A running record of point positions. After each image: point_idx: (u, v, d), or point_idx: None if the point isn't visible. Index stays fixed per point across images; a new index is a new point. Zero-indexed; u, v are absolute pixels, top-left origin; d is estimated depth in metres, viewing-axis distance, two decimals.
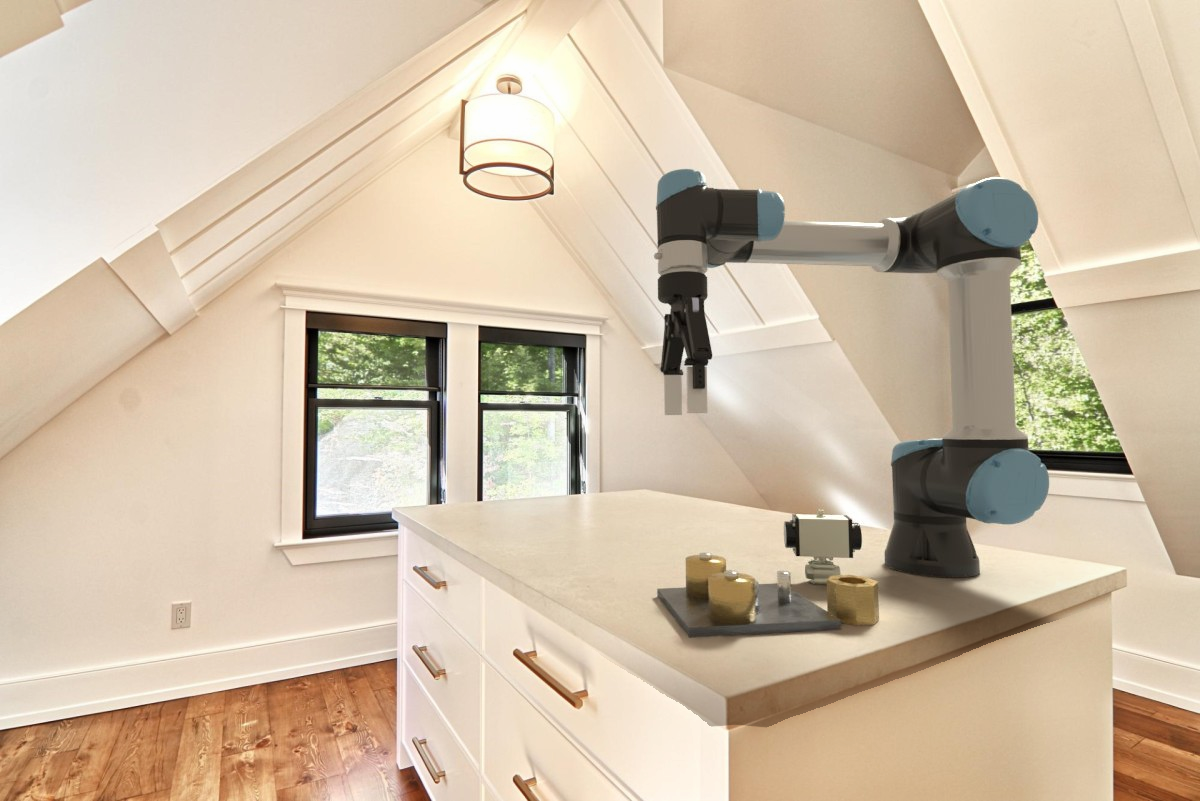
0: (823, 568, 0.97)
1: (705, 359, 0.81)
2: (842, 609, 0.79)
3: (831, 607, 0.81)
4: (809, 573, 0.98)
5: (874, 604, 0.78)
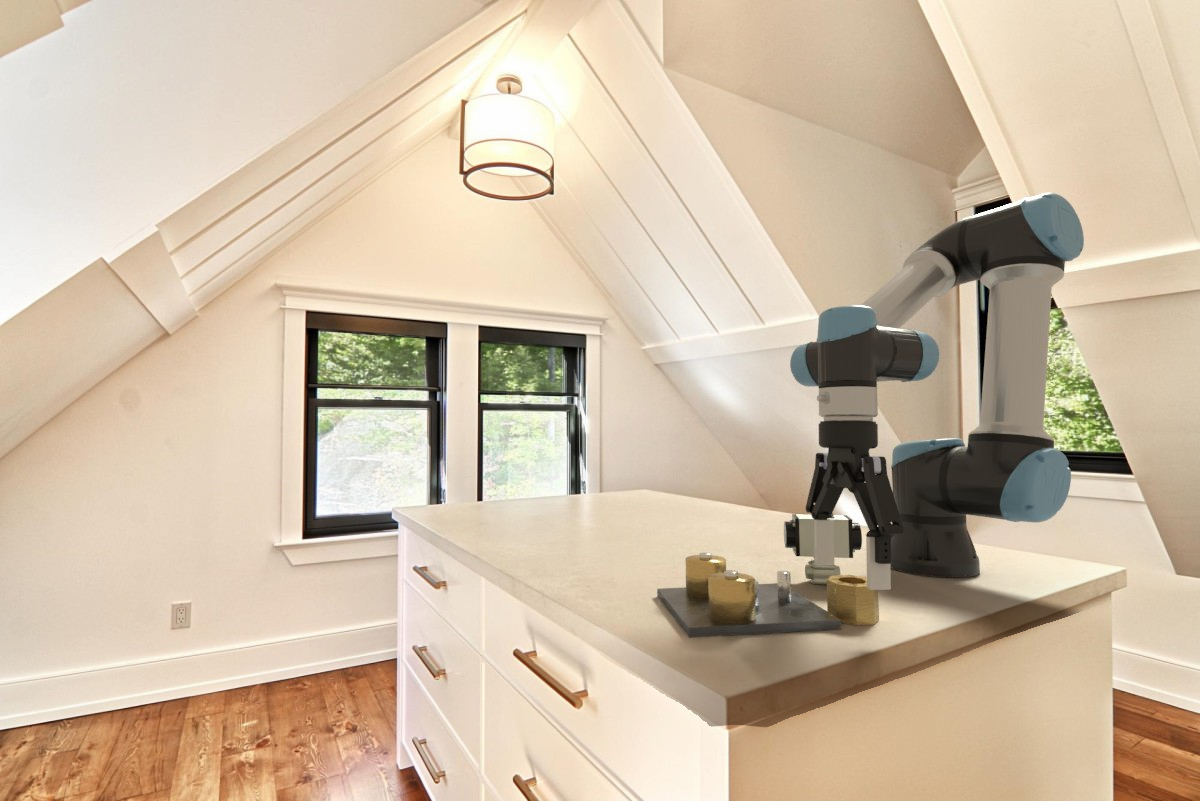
0: (823, 568, 0.97)
1: (895, 534, 0.72)
2: (842, 609, 0.79)
3: (831, 607, 0.81)
4: (809, 573, 0.98)
5: (874, 604, 0.78)
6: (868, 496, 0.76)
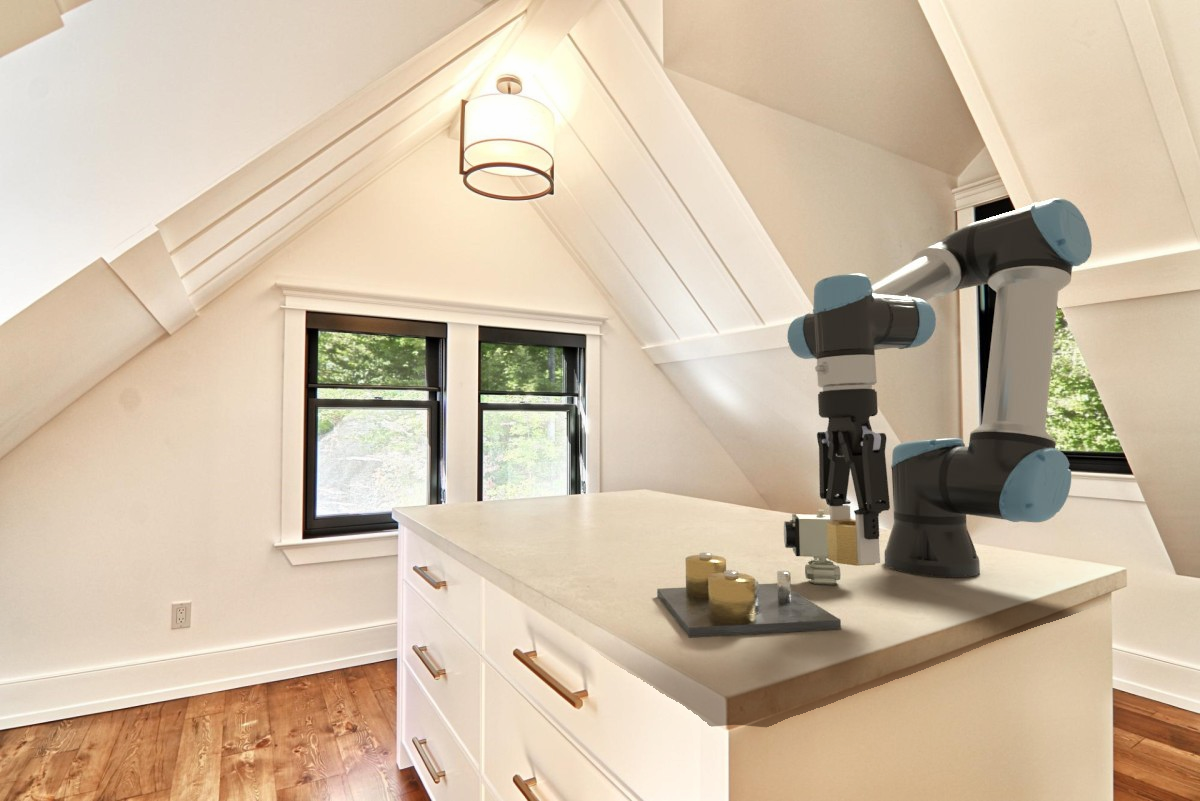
0: (823, 568, 0.97)
1: (881, 510, 0.76)
2: (842, 550, 0.79)
3: (831, 550, 0.81)
4: (809, 573, 0.98)
5: None
6: (863, 471, 0.78)
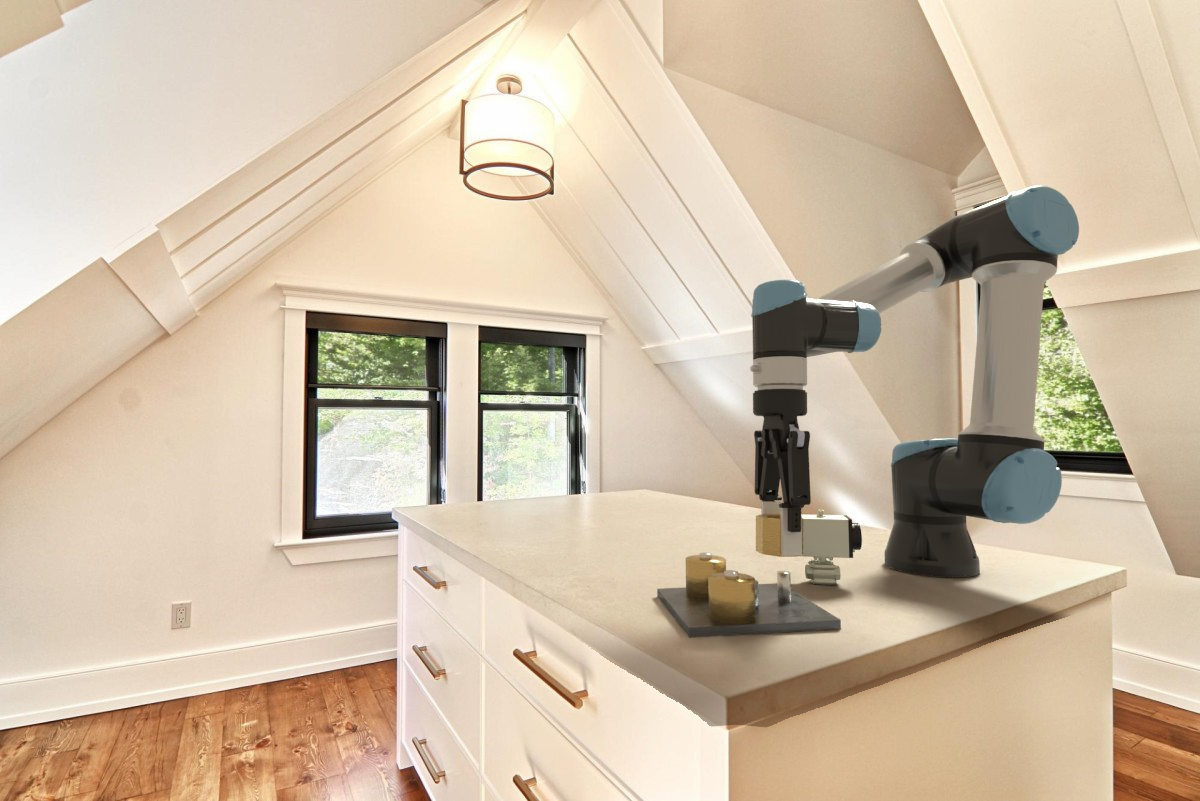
0: (823, 568, 0.97)
1: (803, 504, 0.79)
2: (767, 542, 0.83)
3: (758, 541, 0.85)
4: (809, 573, 0.98)
5: None
6: None
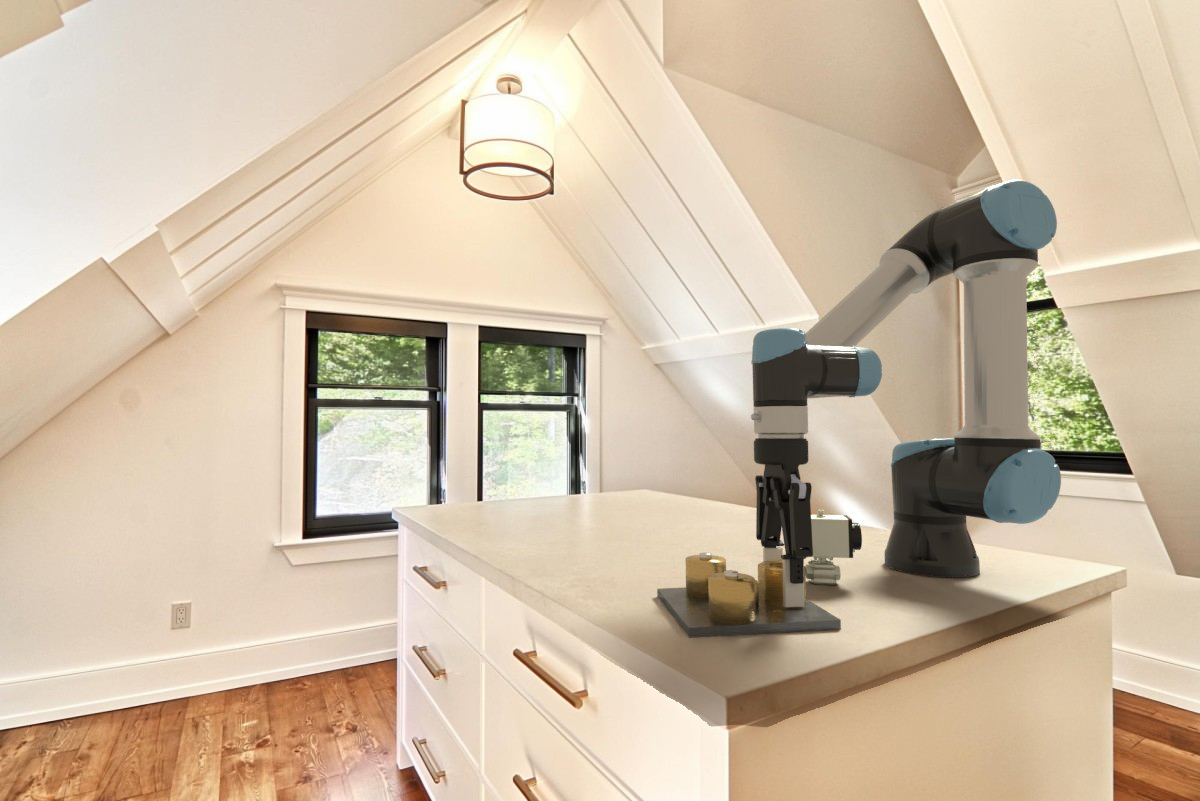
0: (823, 568, 0.97)
1: (805, 557, 0.79)
2: (770, 592, 0.83)
3: (761, 591, 0.85)
4: (809, 573, 0.98)
5: None
6: None
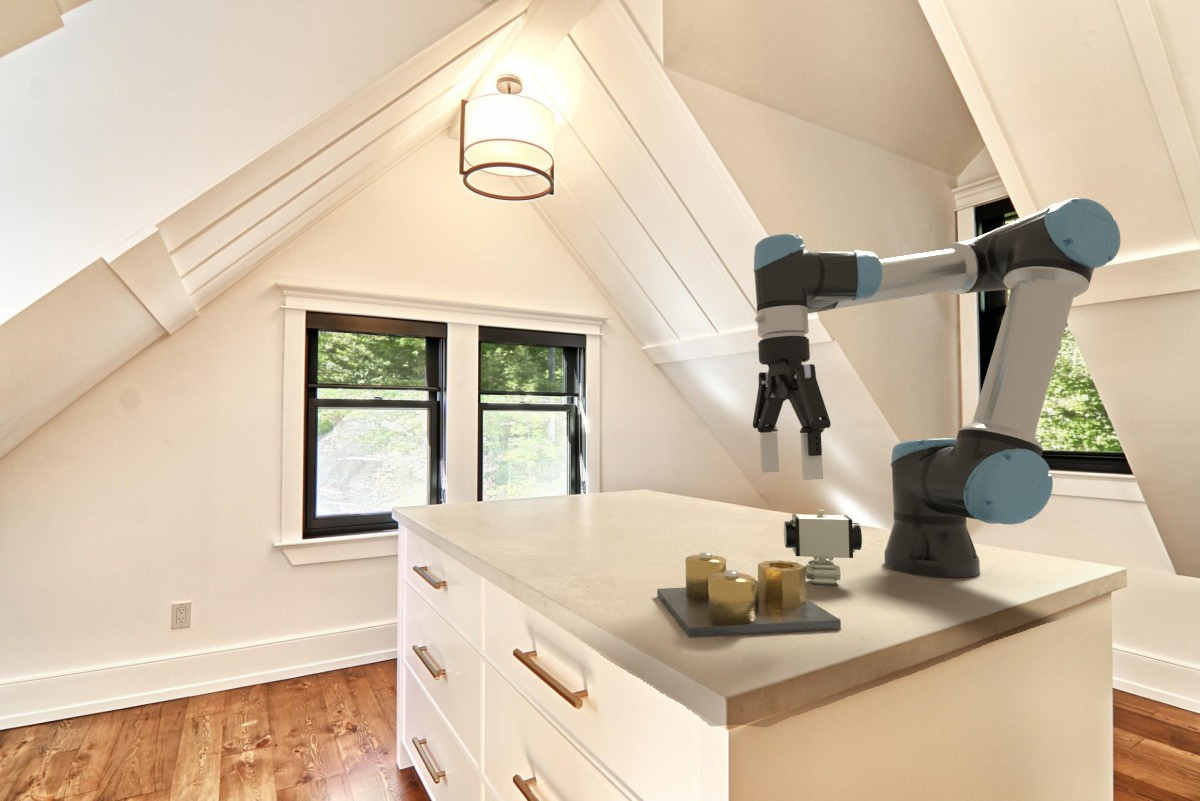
0: (823, 568, 0.97)
1: (823, 428, 0.82)
2: (770, 592, 0.83)
3: (761, 591, 0.85)
4: (809, 573, 0.98)
5: (800, 587, 0.82)
6: (801, 400, 0.87)
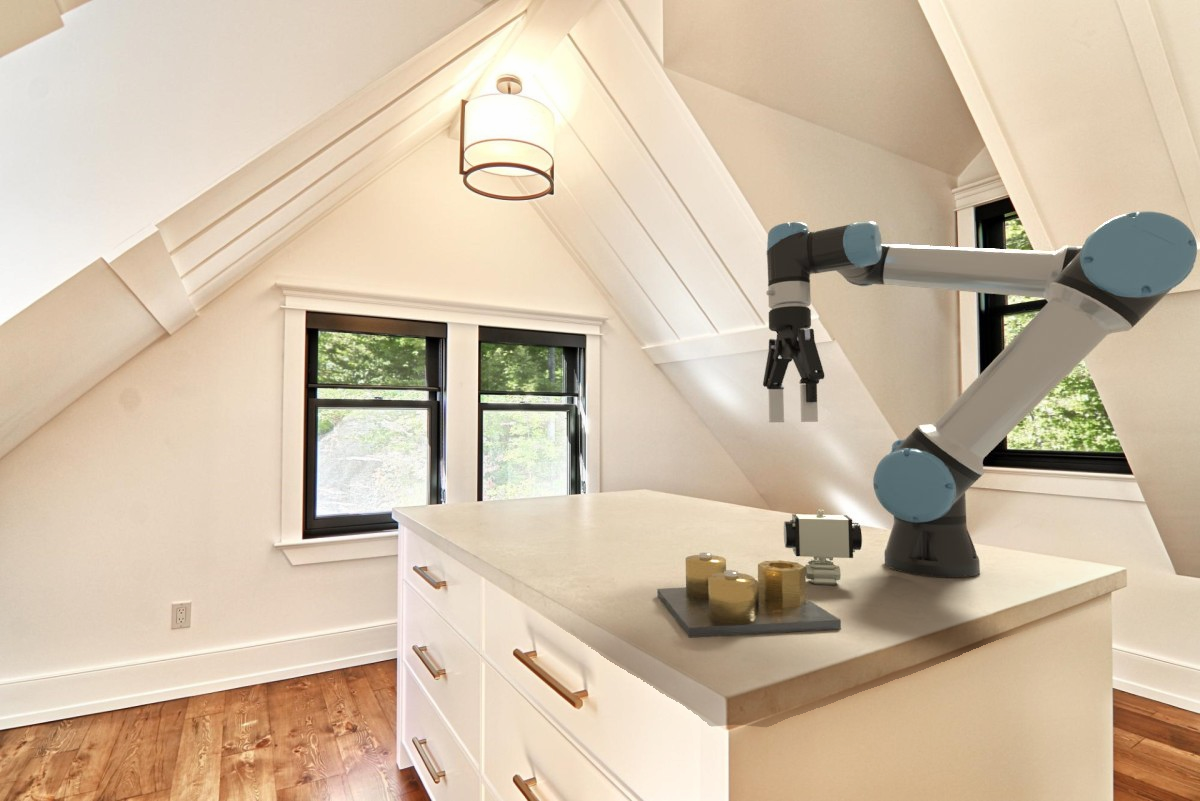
0: (823, 568, 0.97)
1: (818, 379, 1.01)
2: (770, 592, 0.83)
3: (761, 591, 0.85)
4: (809, 573, 0.98)
5: (800, 587, 0.82)
6: (802, 358, 1.06)
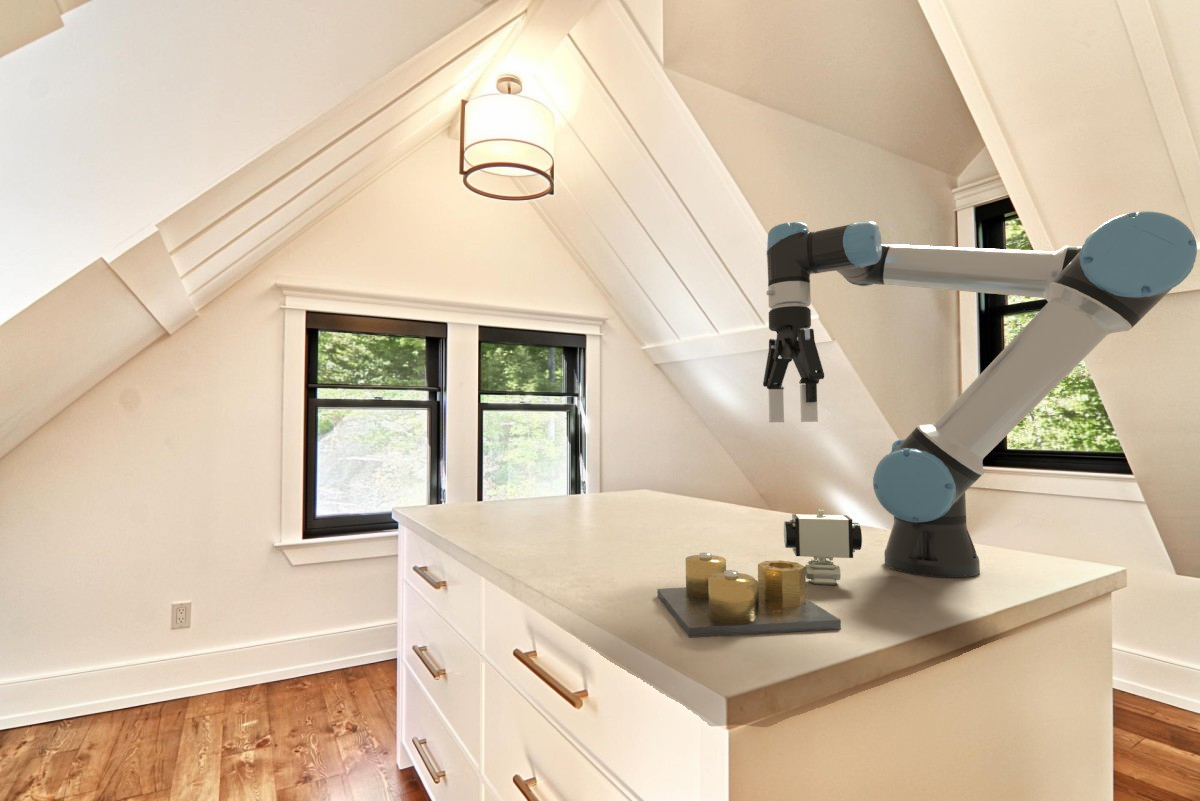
0: (823, 568, 0.97)
1: (818, 379, 1.01)
2: (770, 592, 0.83)
3: (761, 591, 0.85)
4: (809, 573, 0.98)
5: (800, 587, 0.82)
6: (802, 358, 1.06)
